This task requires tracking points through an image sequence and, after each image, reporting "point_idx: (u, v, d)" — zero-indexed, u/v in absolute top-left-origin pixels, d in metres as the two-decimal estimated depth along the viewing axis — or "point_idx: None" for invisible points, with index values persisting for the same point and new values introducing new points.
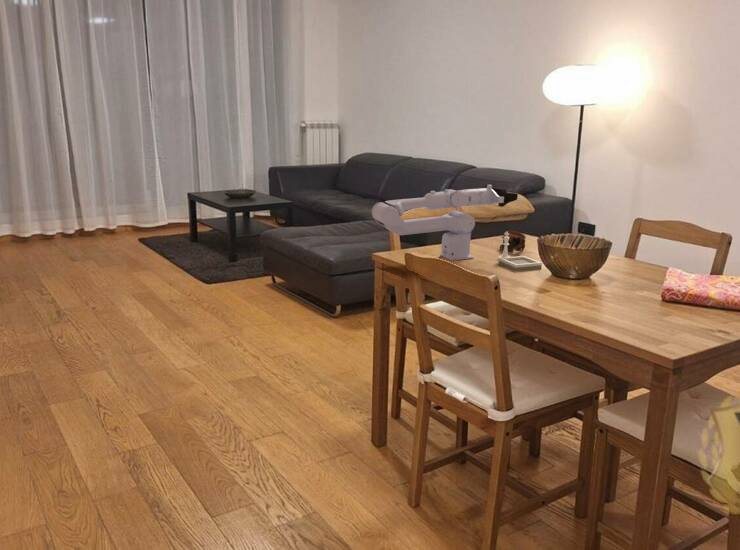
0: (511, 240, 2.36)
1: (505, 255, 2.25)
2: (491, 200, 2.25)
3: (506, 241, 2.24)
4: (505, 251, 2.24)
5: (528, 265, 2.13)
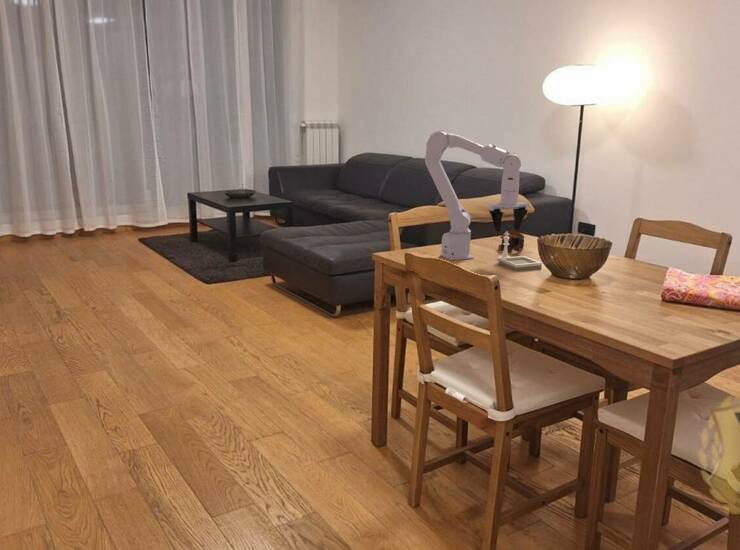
0: (510, 240, 2.36)
1: (505, 255, 2.25)
2: (500, 203, 2.21)
3: (506, 241, 2.24)
4: (505, 251, 2.24)
5: (528, 265, 2.13)
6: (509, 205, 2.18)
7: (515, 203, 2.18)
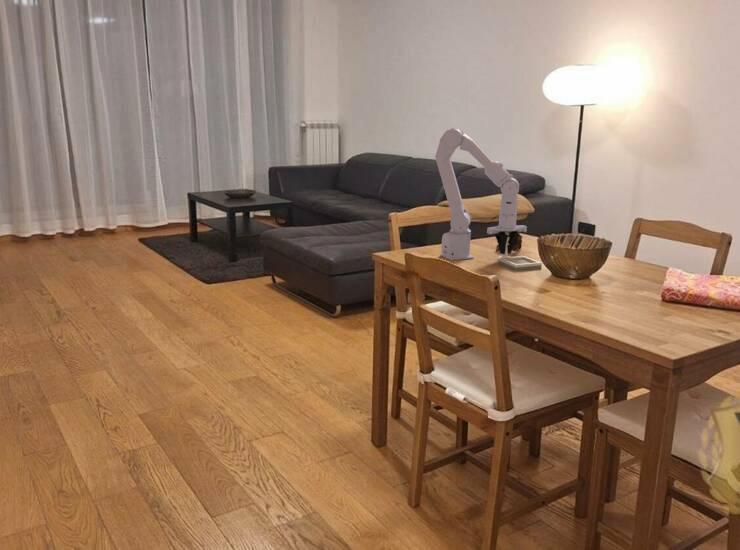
0: None
1: (505, 255, 2.25)
2: (498, 226, 2.23)
3: None
4: (505, 251, 2.24)
5: (528, 265, 2.13)
6: (507, 229, 2.20)
7: (513, 227, 2.21)
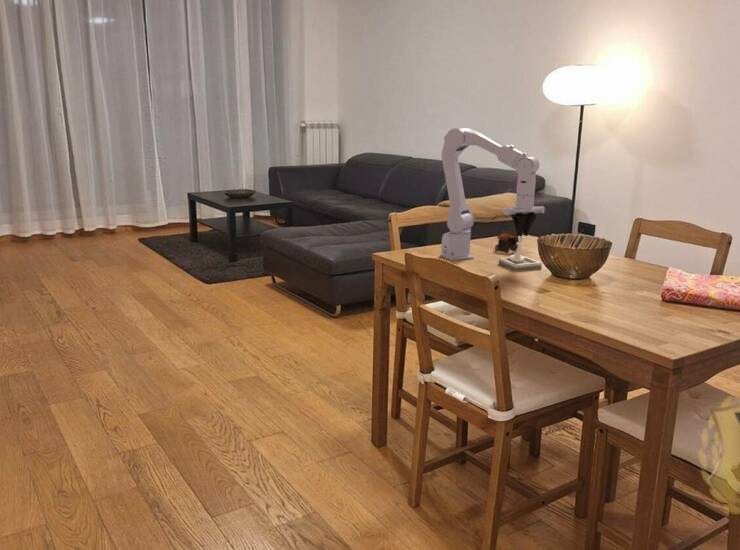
0: (506, 240, 2.36)
1: (517, 255, 2.18)
2: (515, 207, 2.12)
3: (520, 241, 2.16)
4: (518, 251, 2.18)
5: (528, 265, 2.13)
6: (525, 209, 2.10)
7: (531, 207, 2.10)
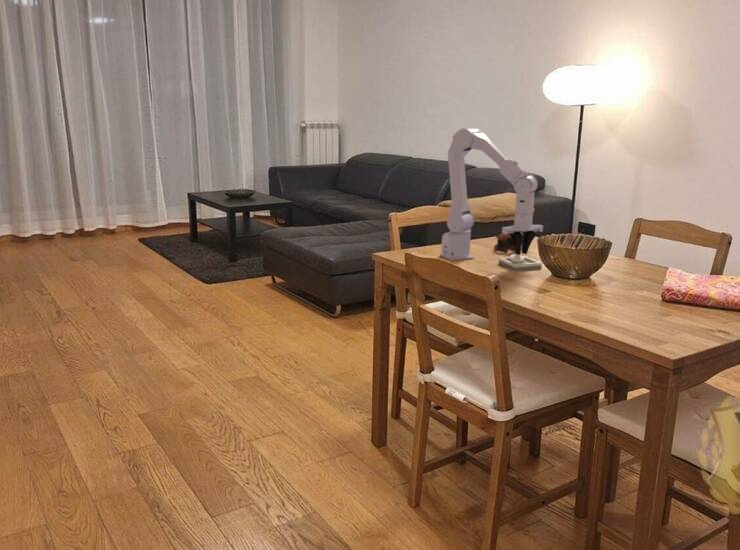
0: (505, 240, 2.36)
1: (517, 255, 2.18)
2: (514, 225, 2.14)
3: None
4: None
5: (528, 265, 2.13)
6: (523, 228, 2.11)
7: (529, 226, 2.12)
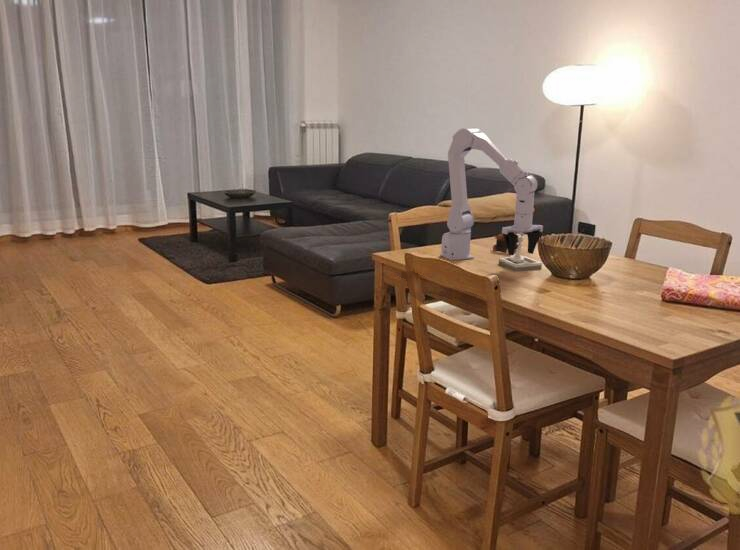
0: (504, 240, 2.36)
1: (517, 255, 2.18)
2: (514, 226, 2.14)
3: (520, 241, 2.16)
4: (518, 251, 2.18)
5: (528, 265, 2.13)
6: (523, 228, 2.11)
7: (529, 226, 2.12)
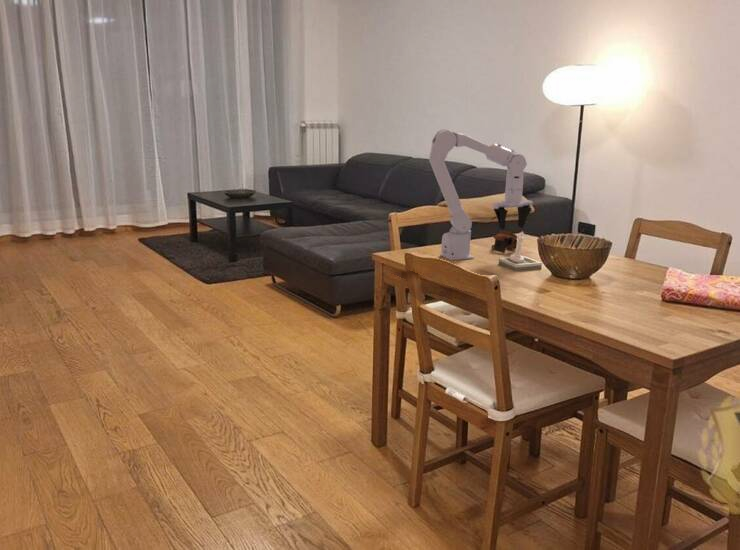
0: (503, 240, 2.36)
1: (517, 255, 2.18)
2: (504, 201, 2.24)
3: (520, 241, 2.16)
4: (518, 251, 2.18)
5: (528, 265, 2.13)
6: (513, 203, 2.21)
7: (519, 201, 2.22)
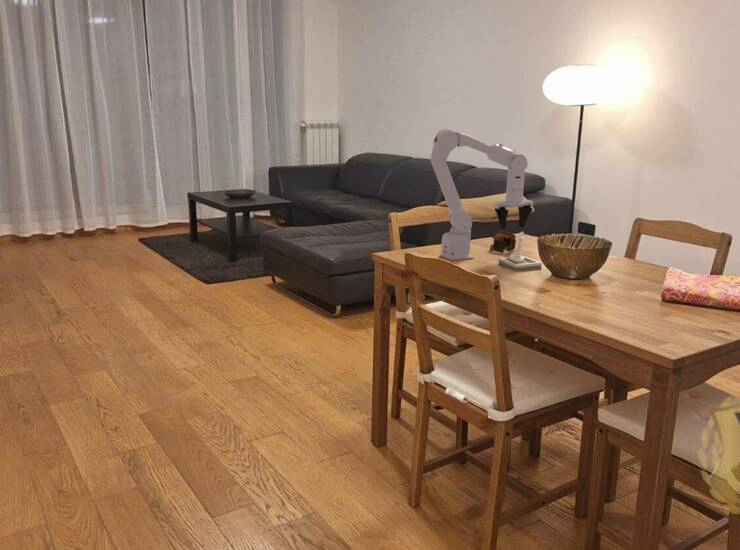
0: (502, 240, 2.36)
1: (517, 255, 2.18)
2: (505, 201, 2.25)
3: (520, 241, 2.16)
4: (518, 251, 2.18)
5: (528, 265, 2.13)
6: (514, 203, 2.22)
7: (520, 201, 2.23)
